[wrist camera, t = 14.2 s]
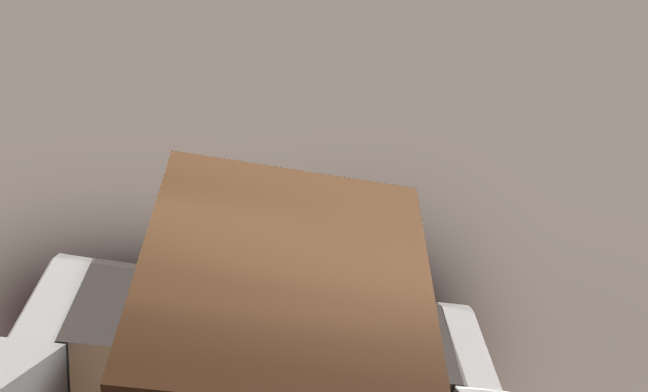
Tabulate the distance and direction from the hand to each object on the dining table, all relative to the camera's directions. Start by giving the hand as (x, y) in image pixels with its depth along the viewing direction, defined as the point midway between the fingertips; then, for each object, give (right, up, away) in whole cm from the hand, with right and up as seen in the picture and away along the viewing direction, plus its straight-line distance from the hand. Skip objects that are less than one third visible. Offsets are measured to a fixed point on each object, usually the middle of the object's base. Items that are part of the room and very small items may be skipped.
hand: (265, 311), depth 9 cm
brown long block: (-1, -7, +2) cm, 7 cm away
